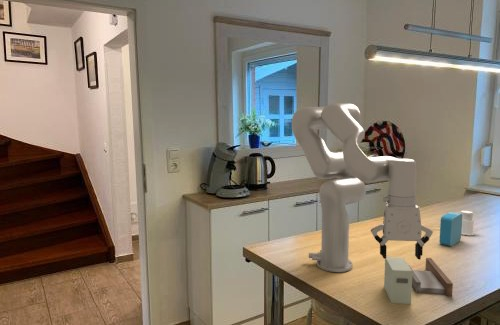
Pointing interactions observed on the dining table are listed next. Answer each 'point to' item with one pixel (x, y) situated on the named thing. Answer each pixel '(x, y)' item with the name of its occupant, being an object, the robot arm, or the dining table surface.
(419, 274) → the board
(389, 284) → the slotted sage box
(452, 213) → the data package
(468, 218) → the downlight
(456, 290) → the dining table surface
